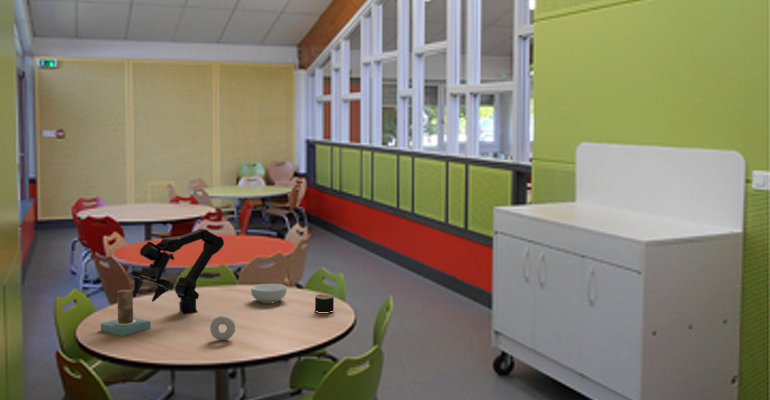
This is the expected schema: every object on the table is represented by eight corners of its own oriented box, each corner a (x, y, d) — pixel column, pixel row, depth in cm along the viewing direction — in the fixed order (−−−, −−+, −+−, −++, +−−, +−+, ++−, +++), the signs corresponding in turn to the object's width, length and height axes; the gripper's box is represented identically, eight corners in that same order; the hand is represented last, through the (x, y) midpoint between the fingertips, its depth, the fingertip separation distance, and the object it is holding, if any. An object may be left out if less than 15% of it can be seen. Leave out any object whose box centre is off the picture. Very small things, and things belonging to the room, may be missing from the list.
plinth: (129, 322, 314) (129, 315, 313) (150, 328, 306) (150, 320, 306) (100, 330, 302) (100, 323, 302) (122, 336, 294) (122, 328, 294)
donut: (236, 338, 293) (235, 314, 292) (235, 341, 290) (234, 316, 289) (210, 339, 292) (210, 314, 291) (209, 341, 289) (209, 317, 288)
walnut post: (135, 319, 307) (134, 289, 305) (130, 324, 301) (129, 293, 299) (121, 319, 307) (120, 289, 305) (115, 323, 301) (114, 293, 299)
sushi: (322, 314, 329) (322, 297, 328) (311, 311, 335) (311, 294, 334) (336, 311, 334) (336, 294, 333) (326, 308, 340) (326, 291, 339)
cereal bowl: (293, 300, 354) (293, 285, 353) (271, 307, 340) (270, 292, 339) (267, 295, 363) (267, 281, 362) (244, 302, 349) (243, 288, 348)
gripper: (132, 253, 313) (116, 286, 307) (170, 265, 308) (153, 299, 303) (144, 261, 323) (128, 293, 317) (180, 273, 318) (164, 306, 313)
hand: (143, 298), depth 312 cm, fingers open, 9 cm apart
